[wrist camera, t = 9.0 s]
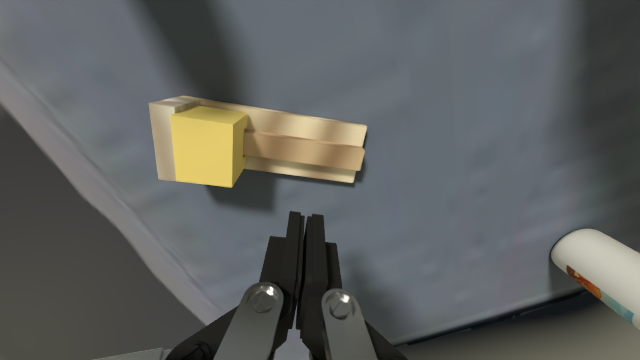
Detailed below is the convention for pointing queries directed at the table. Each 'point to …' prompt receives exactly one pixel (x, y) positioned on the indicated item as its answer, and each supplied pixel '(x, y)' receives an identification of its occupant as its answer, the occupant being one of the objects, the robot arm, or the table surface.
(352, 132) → the rail
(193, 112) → the block
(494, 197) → the table surface
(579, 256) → the milk bottle
